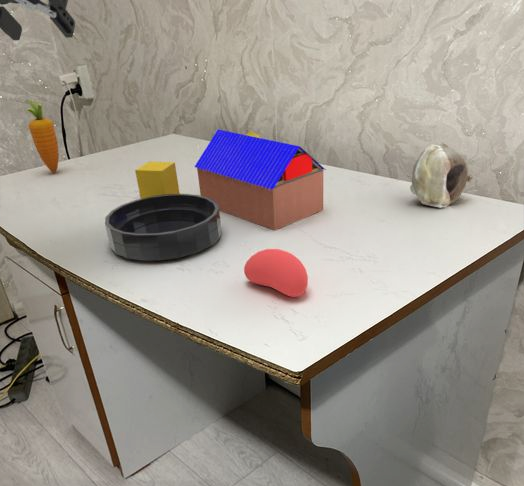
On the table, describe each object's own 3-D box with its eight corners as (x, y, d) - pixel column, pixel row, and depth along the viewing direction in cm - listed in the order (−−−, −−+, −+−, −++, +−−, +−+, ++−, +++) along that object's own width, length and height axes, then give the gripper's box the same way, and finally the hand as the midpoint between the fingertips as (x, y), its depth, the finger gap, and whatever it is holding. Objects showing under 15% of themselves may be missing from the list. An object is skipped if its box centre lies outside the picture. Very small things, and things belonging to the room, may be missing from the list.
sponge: (169, 217, 92) (161, 170, 88) (143, 216, 94) (134, 169, 89) (181, 207, 96) (174, 162, 92) (157, 206, 98) (149, 161, 93)
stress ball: (284, 278, 74) (259, 241, 71) (324, 277, 66) (298, 236, 64) (259, 303, 72) (232, 266, 70) (298, 304, 65) (270, 263, 62)
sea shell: (412, 219, 91) (396, 165, 86) (423, 195, 96) (409, 142, 91) (470, 209, 86) (457, 150, 80) (478, 184, 91) (466, 127, 86)
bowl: (110, 271, 76) (103, 242, 73) (112, 228, 90) (106, 202, 87) (229, 254, 78) (226, 224, 76) (213, 214, 92) (210, 188, 90)
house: (248, 186, 103) (243, 122, 97) (326, 209, 91) (326, 137, 84) (199, 203, 97) (190, 136, 90) (274, 231, 84) (270, 155, 78)
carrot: (66, 174, 119) (47, 100, 110) (43, 177, 117) (21, 103, 109) (64, 168, 123) (45, 97, 114) (42, 172, 121) (21, 100, 113)
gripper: (9, -119, 55) (96, 6, 71) (-96, -103, 59) (8, 11, 75) (-9, -56, 54) (83, 56, 70) (-114, -44, 58) (-5, 60, 74)
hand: (44, 33), depth 72 cm, fingers open, 8 cm apart
